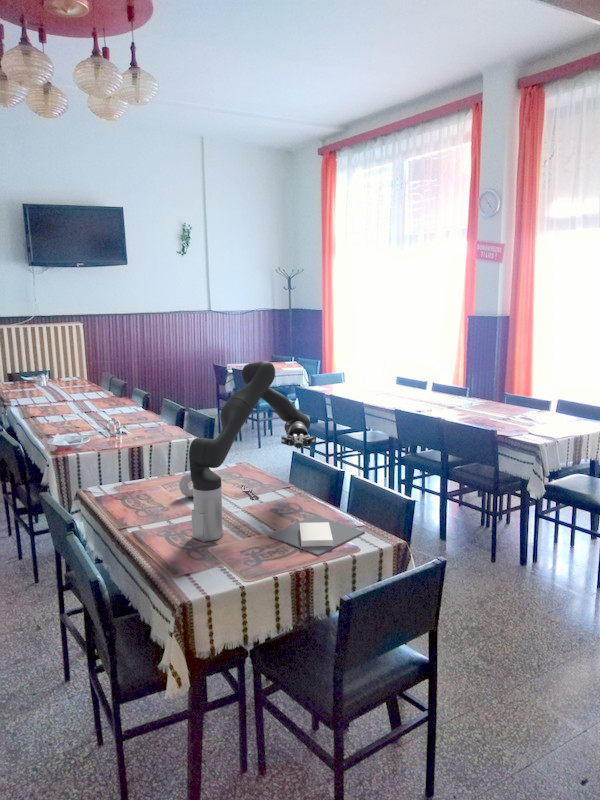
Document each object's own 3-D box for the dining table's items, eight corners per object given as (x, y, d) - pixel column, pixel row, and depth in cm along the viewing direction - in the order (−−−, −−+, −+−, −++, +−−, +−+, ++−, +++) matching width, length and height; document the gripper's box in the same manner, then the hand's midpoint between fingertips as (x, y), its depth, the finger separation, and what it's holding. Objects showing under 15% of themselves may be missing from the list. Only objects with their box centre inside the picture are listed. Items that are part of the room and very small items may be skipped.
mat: (318, 555, 187) (318, 554, 187) (268, 536, 201) (268, 534, 201) (364, 532, 204) (364, 531, 204) (315, 516, 219) (315, 514, 219)
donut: (202, 493, 243) (201, 469, 242) (205, 495, 241) (204, 471, 239) (178, 497, 239) (177, 472, 237) (181, 499, 236) (180, 475, 234)
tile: (299, 522, 205) (301, 540, 191) (328, 522, 206) (332, 539, 192) (299, 529, 206) (301, 547, 192) (328, 528, 206) (332, 546, 192)
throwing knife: (250, 501, 235) (250, 499, 235) (235, 485, 253) (235, 484, 253) (261, 499, 237) (261, 498, 237) (245, 484, 255) (245, 483, 255)
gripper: (280, 424, 228) (279, 435, 211) (315, 424, 228) (317, 435, 211) (280, 444, 229) (279, 456, 212) (315, 444, 230) (317, 456, 213)
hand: (298, 445), depth 212 cm, fingers closed
